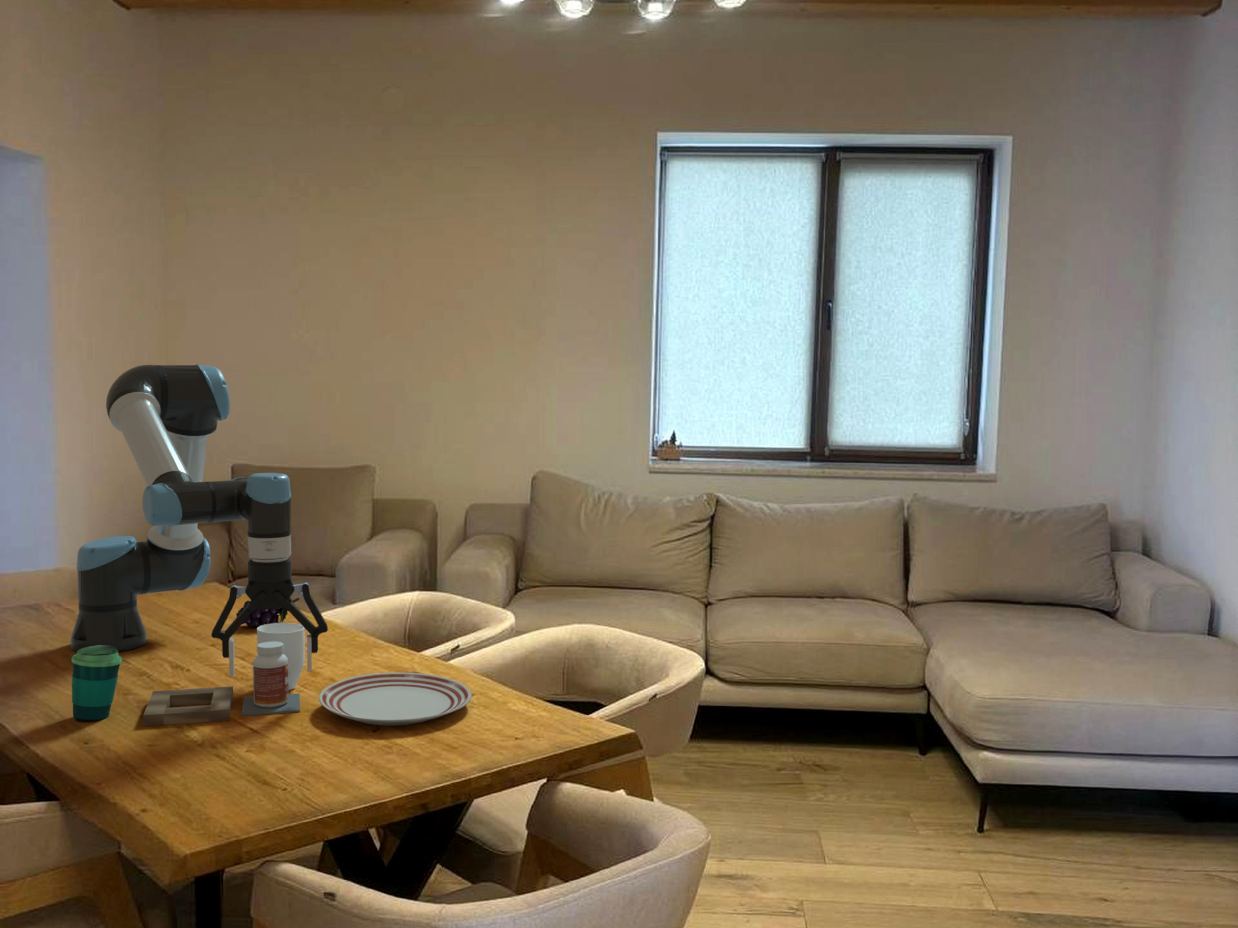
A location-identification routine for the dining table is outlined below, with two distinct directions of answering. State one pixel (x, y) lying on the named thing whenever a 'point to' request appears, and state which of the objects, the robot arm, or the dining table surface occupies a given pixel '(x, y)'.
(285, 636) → the mug
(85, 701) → the cup
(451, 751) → the dining table surface
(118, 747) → the dining table surface
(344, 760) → the dining table surface
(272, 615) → the fruit
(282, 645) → the pill bottle
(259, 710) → the coaster
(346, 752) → the dining table surface
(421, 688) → the dinner plate
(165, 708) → the collar
